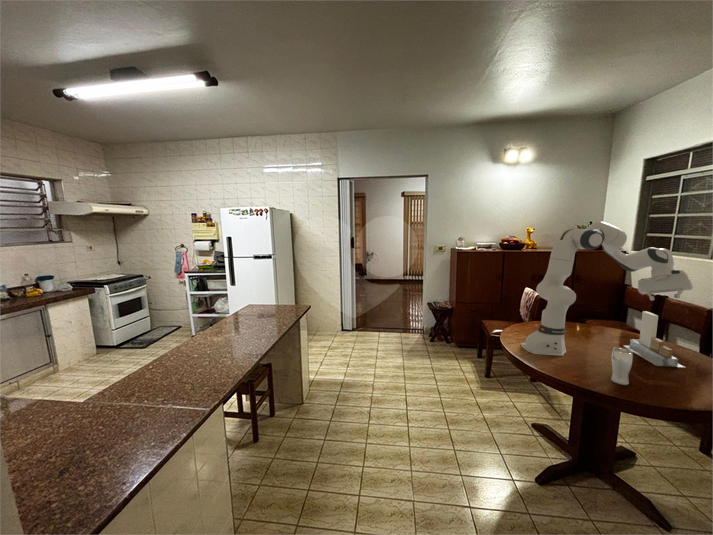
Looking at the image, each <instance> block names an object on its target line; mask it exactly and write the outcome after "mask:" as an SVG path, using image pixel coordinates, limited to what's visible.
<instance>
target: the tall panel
mask: <svg viewBox="0 0 713 535" xmlns="http://www.w3.org/2000/svg"><path fill="white" fill-rule="evenodd" d="M658 321H659V315H657V314H655V313H653V312H650V311H647V310H645V311H643V310H642V316H641V324H640V332H639V339H638V340H639V343H640V344H642V345H644V346H646V347H648V348H650V349H651V342H652V338H657V331H658V330H657V329H658V323H659V322H658Z"/></svg>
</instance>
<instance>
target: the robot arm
mask: <svg viewBox="0 0 713 535" xmlns="http://www.w3.org/2000/svg"><path fill="white" fill-rule="evenodd" d="M627 239H628V235H627V233H626V231H624V230H622V229H620V228H619V227H617V226H615V225H612V224H611V223H607V222H605V221H600V220H599V221H594V222H593V223H591V224H590V225H589V226H587V228H570V229H567V230H566V231H564V232H563V233H562V234H561V237H560V239H559V240H557V241H556V242H554V244H553V247H552V250H551V253H550V257H549V260H548V261H549V262H548V265H547V270H546V273H545V275H544V277H543V279H542V280H541V281H540V282H539V283H538V284H537V286H536V287H535V290H536V293H537V294H538V296H539V297H540V298H541V299H544V300H545V301H547V304H546V307H545V309H543V310H542V311H541V322H540V324H536V323H535V324H534V325H533V326H534V328H535V329H537V330H536V331H534V332H532V333H531V334H529V335H528V336H527V337H526V340H525V342H521V343H520V346H521V348H522V349H524V350H525V351H526V352H529V353H531V354H534V355H543V356H557V357H564V355H565V354H566V353H567V348H566V343H565V334H566V327H565V326H566V325H565V324H566V317H567V316H566V315H567V311H568V309H569V307H570V306H572V305H573V304H574V303H575V302H576V300H577V293H575V291H574V290H572V288H570V287H568V286H566V285H564V283H565V281H566V280H567V278H568V277H570V276H571V274H572V272H573V266H574V262H575V256H576V255H575V254H576V253H577V251H578V250H588V251H589V250H590V251H591V250H595V249H598V248H600V247H601V249H602V251H603V252H604V253H605V254H606V255H607V256H609V257H610V258H611V259H613V260H614V261H615V262H616V263H618V265H619V266H621V267H622V269H624V270H625V271H627V272H632V273H633V272H636V271H639V270H642V269H645V268H649V267H650V268H651V270H650V275H651V276H650V277H646V278H641V279H639V280H638V281H637V291H638V292H639V294H640V295H647V296H648V297H649V300H650V301H655V296H654V295H653V294H659V293H671V292H672V293H673V292H676V293H674V294H673V296H674V298H675V299H680V298H681V295H682V294H683V292H684V291H691V290H692V289H693V288H694V287H693V283H692V281H691V279H690V278H689V276H688V274H687V273H686V272H685V271H684V270H683V269H674V266H675V262H674V261H675V260H674V257H673V254H672V252H671V250H669V249H667V248H657V247H653V246H652V247H651V246H650V247H647V248H644V249H641V250H638V251H635V252H632V253H628V254H627V253H624V252H622V251H621V250H620V249H622V248H623V247H624V246H625V244H626V242H627Z"/></svg>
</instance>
